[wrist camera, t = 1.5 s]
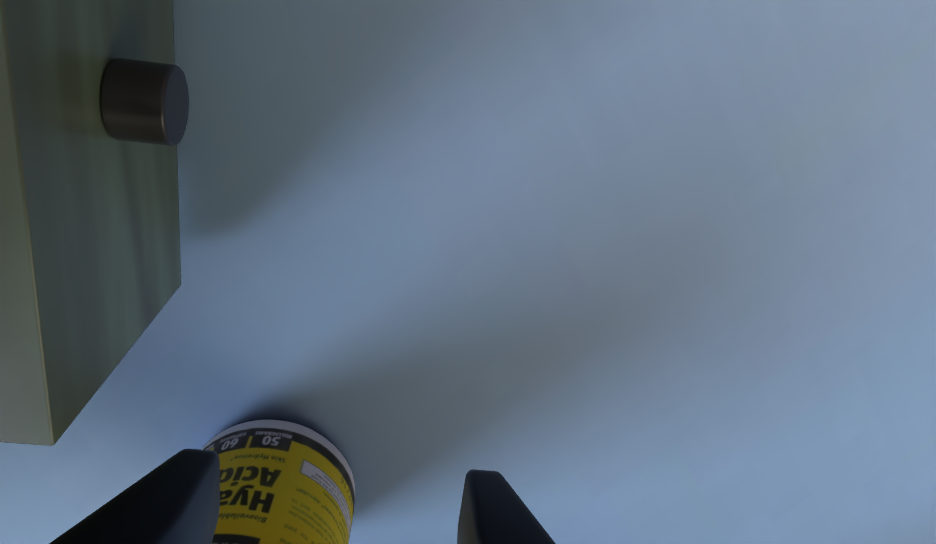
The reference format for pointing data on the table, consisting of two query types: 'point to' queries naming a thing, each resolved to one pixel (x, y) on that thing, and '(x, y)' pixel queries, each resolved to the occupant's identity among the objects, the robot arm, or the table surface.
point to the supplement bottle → (281, 486)
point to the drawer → (83, 198)
